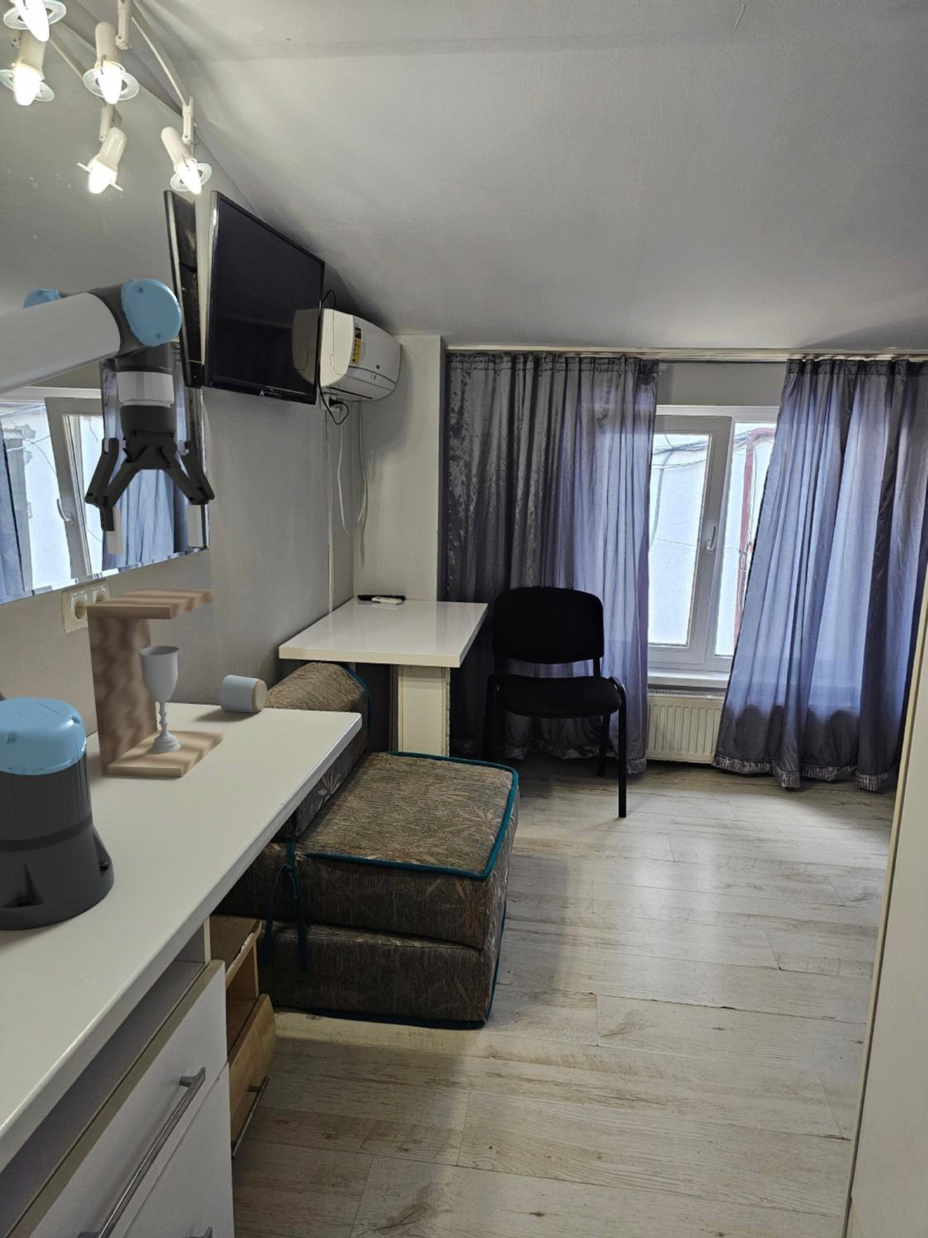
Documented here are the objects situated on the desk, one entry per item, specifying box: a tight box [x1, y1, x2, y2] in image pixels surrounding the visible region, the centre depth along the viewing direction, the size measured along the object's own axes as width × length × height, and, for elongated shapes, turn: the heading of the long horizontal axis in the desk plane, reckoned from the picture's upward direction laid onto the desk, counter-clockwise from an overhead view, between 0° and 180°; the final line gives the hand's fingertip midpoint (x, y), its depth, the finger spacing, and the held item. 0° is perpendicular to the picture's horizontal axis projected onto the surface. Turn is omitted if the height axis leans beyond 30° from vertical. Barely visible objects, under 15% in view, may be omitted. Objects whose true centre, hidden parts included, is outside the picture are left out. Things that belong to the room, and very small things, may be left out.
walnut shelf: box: [85, 588, 224, 778], centre depth 135 cm, size 18×14×29 cm
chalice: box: [138, 645, 181, 753], centre depth 136 cm, size 7×7×18 cm
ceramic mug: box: [218, 674, 268, 713], centre depth 164 cm, size 11×8×8 cm
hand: (157, 550), depth 116 cm, fingers open, 13 cm apart
